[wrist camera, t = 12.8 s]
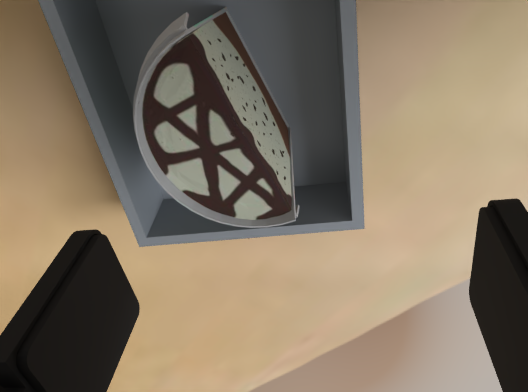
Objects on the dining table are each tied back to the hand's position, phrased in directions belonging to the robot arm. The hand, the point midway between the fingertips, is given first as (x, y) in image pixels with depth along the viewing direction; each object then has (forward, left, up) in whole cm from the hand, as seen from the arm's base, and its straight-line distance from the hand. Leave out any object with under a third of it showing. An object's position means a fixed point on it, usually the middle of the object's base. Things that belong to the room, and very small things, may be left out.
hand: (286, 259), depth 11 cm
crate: (+5, +3, -22) cm, 23 cm away
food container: (+5, +3, -21) cm, 22 cm away
